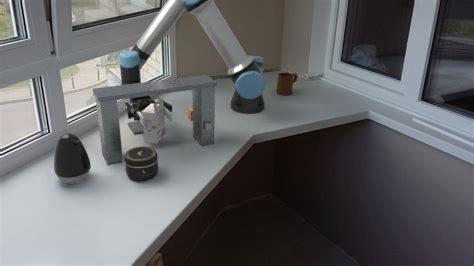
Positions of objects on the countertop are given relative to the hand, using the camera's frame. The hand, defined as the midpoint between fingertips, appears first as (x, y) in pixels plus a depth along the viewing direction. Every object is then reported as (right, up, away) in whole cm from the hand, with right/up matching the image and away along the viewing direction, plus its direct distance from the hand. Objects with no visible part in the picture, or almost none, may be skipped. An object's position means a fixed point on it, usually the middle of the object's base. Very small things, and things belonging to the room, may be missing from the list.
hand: (157, 119), depth 141 cm
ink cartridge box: (-2, -7, +8) cm, 10 cm away
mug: (+52, +15, +63) cm, 83 cm away
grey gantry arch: (0, -10, +4) cm, 11 cm away
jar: (-2, -18, -12) cm, 21 cm away
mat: (-9, -2, +20) cm, 22 cm away
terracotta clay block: (+14, -2, +10) cm, 17 cm away
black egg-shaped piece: (-22, -19, -15) cm, 33 cm away
